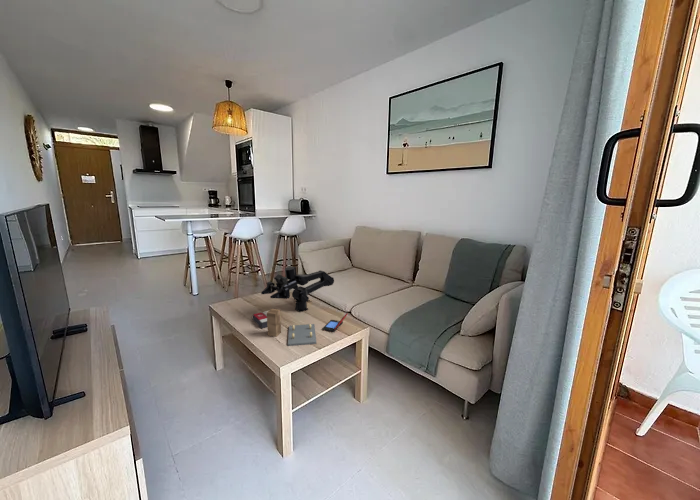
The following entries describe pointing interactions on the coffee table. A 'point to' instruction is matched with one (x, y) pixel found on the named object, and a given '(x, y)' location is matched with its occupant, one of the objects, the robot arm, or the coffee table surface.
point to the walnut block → (274, 322)
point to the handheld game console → (333, 325)
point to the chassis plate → (301, 335)
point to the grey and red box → (261, 319)
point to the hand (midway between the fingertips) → (265, 295)
